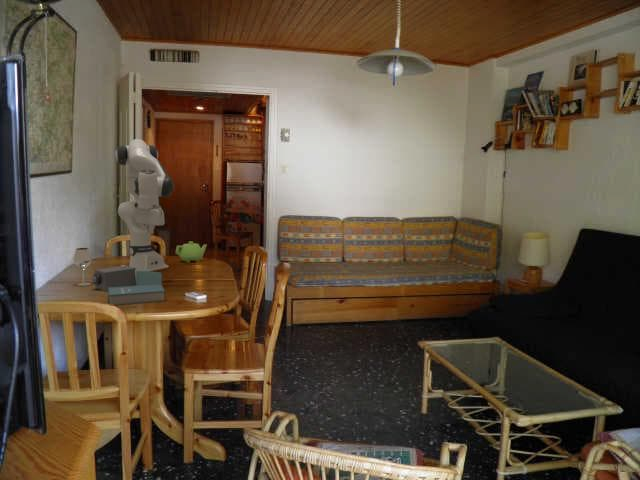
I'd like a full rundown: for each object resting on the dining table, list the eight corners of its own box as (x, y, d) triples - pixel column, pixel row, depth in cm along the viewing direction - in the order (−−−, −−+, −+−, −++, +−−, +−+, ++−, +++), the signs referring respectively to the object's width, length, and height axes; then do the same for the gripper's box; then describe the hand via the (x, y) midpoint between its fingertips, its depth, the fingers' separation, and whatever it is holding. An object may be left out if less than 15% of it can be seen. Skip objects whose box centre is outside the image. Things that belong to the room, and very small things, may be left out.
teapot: (203, 258, 343) (203, 239, 341) (210, 261, 331) (210, 241, 330) (172, 261, 332) (172, 241, 330) (179, 264, 321) (178, 243, 319)
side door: (135, 285, 259) (134, 269, 258) (137, 285, 261) (137, 269, 260) (160, 288, 254) (160, 272, 252) (163, 287, 255) (162, 271, 254)
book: (109, 306, 223) (109, 295, 222) (108, 298, 237) (108, 287, 237) (165, 301, 231) (164, 290, 231) (160, 293, 246) (160, 283, 245)
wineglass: (75, 286, 257) (73, 250, 254) (74, 283, 264) (72, 248, 262) (93, 285, 260) (91, 249, 258) (92, 282, 268) (90, 247, 265)
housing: (126, 283, 266) (125, 264, 265) (136, 286, 260) (136, 266, 259) (91, 288, 253) (90, 268, 252) (101, 292, 246) (100, 271, 245)
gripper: (167, 205, 245) (168, 234, 246) (143, 203, 258) (144, 231, 260) (155, 206, 240) (156, 236, 242) (131, 203, 253) (132, 232, 255)
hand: (150, 233), depth 251 cm, fingers closed
